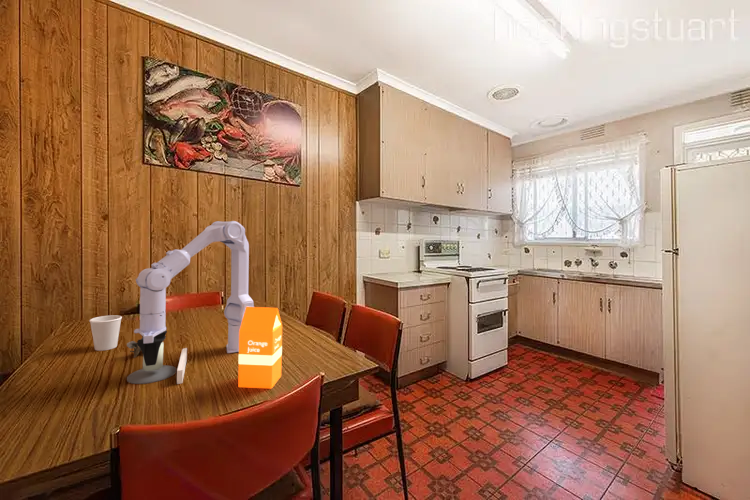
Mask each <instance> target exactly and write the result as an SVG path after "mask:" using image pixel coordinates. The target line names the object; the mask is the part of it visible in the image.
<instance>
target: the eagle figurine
mask: <svg viewBox="0 0 750 500" xmlns="http://www.w3.org/2000/svg"><path fill="white" fill-rule="evenodd" d="M166 337H167V336H166V335H165V336H164V340H163V341H162V342H164V341H165V340H166ZM141 339H143V337H142V336H141ZM126 347H128V348H129V349H133V350H130V351H129V352H130V353H133V358H134V359H135V358H137V356H139V354H140V352H142V351H141V349H140V347H139V346H138V345H137V341H134V340H132V341H129V342H127V343H126Z"/></svg>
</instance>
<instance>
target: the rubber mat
mask: <svg viewBox="0 0 750 500" xmlns="http://www.w3.org/2000/svg"><path fill="white" fill-rule="evenodd" d="M175 374H177V368H176V367H175V366H173V365H167V364H166V365H164V364H163V367H162V368H160V369H157V370H153V371H144V370H143V368H140V369H138V370H136V371H135V370H134V372H133V371H132V373H131V372H130V374H128V376H127V377H126V381H127V383H129V384H133V385H146V384H153V383H157V382H161V381H163V380H167V379H168V378H171V377H172V376H174V375H175Z"/></svg>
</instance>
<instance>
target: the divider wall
mask: <svg viewBox="0 0 750 500" xmlns="http://www.w3.org/2000/svg"><path fill="white" fill-rule="evenodd" d="M187 360H188V347H185V348H181V353H180V357H179V362H178V366H177V368H176V384H177V385H179V384H181V385H182V384H183V383H184V377H185V371H186V366H187Z"/></svg>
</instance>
